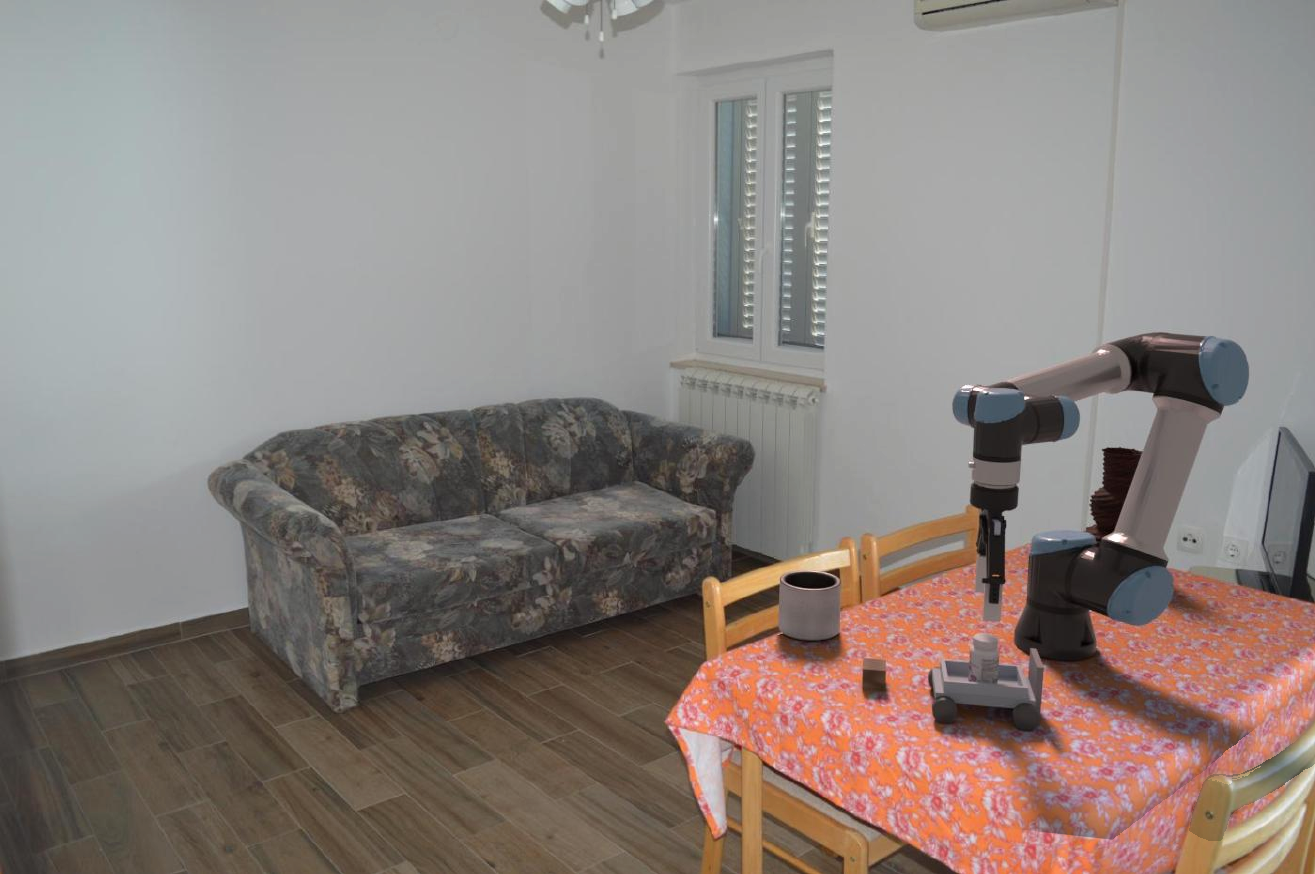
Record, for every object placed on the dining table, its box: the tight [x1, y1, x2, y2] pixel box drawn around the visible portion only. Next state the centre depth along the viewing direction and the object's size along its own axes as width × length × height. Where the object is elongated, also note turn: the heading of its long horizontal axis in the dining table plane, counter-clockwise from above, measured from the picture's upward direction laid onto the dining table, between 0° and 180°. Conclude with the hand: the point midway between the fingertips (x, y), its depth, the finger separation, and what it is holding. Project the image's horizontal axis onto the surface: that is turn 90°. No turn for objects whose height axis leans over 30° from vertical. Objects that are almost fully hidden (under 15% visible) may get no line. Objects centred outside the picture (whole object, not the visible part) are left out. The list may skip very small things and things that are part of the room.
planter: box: [777, 569, 842, 642], centre depth 208 cm, size 13×12×11 cm
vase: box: [1082, 446, 1143, 548], centre depth 241 cm, size 15×15×30 cm
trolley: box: [927, 648, 1045, 732], centre depth 174 cm, size 18×14×10 cm
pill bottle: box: [968, 632, 1000, 684], centre depth 173 cm, size 5×5×8 cm
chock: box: [861, 657, 887, 692], centre depth 184 cm, size 4×5×4 cm
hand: (987, 605), depth 171 cm, fingers open, 13 cm apart
